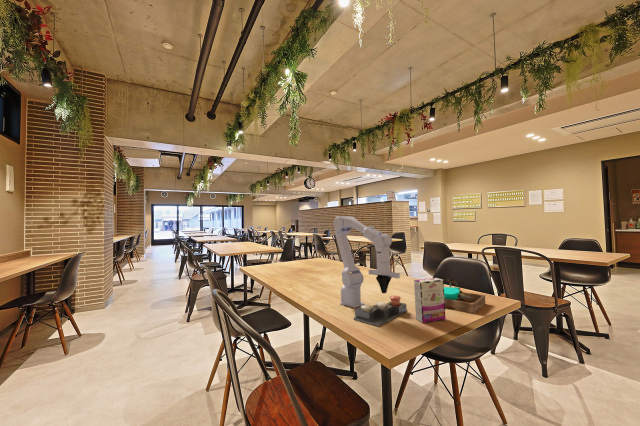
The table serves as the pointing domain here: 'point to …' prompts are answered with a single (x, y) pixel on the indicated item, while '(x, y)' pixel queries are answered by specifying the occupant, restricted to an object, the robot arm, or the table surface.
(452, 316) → the table surface
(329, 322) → the table surface
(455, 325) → the table surface
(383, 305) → the plug cream mid
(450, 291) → the contraption on wooden base
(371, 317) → the panel
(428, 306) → the candy bar box
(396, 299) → the plug red
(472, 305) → the brown wooden tray
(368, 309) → the cream mushroom knob
